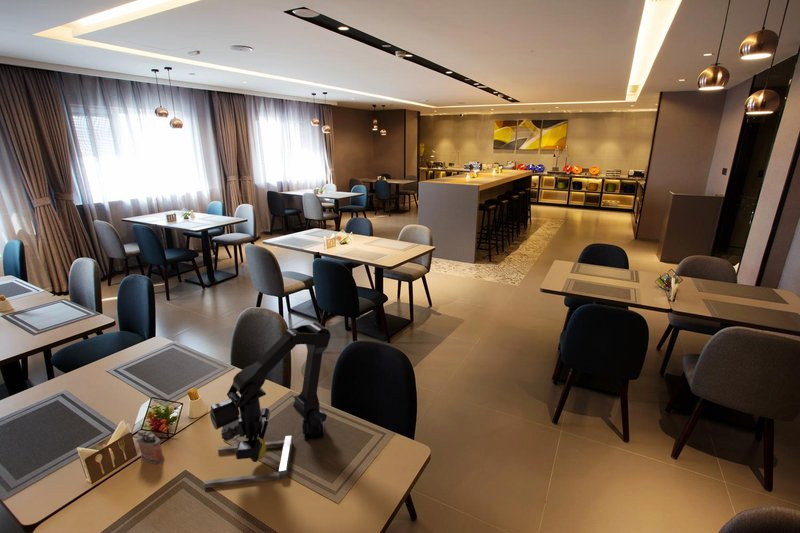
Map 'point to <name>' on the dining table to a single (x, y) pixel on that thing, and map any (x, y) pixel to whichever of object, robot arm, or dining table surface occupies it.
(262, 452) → the lemon
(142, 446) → the pink grey container
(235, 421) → the robot arm
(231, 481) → the channel
